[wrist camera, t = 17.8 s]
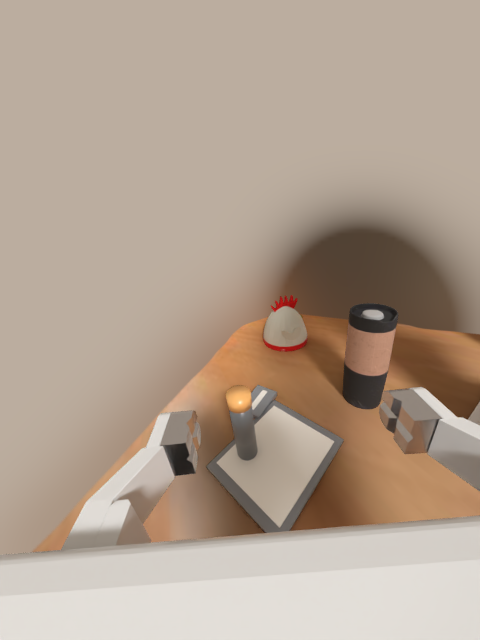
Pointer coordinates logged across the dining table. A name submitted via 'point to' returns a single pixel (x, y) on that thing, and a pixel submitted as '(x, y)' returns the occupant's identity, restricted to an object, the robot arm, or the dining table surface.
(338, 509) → the dining table surface
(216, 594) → the robot arm
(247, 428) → the marker
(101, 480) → the dining table surface
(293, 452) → the paper pad
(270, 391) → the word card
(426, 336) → the dining table surface
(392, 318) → the travel mug
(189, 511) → the dining table surface
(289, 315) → the kitchen timer
